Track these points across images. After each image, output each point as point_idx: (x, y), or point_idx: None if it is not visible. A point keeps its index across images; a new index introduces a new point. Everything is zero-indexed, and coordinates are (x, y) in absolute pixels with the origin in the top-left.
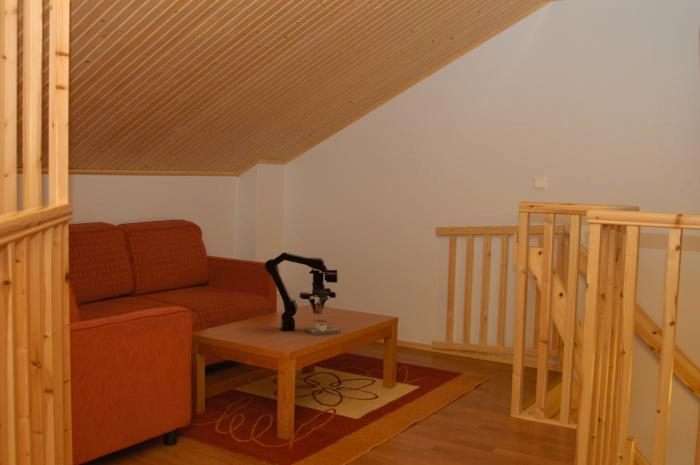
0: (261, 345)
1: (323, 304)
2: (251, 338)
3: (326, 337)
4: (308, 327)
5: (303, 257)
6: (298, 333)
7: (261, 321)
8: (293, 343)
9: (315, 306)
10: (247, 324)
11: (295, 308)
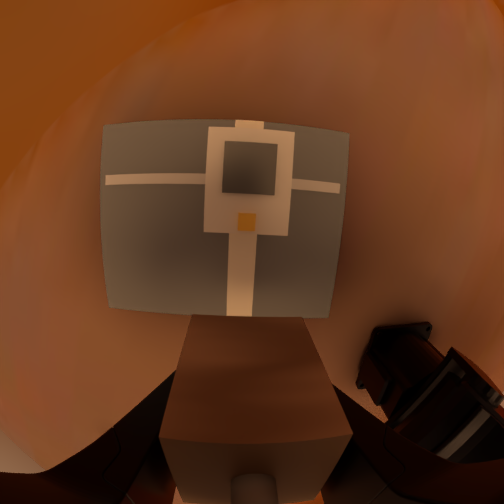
0: None
1: (114, 439)
2: None
3: (275, 36)
4: (301, 315)
5: None
6: (401, 234)
7: None
8: (473, 48)
9: (339, 411)
10: None
11: (471, 413)
